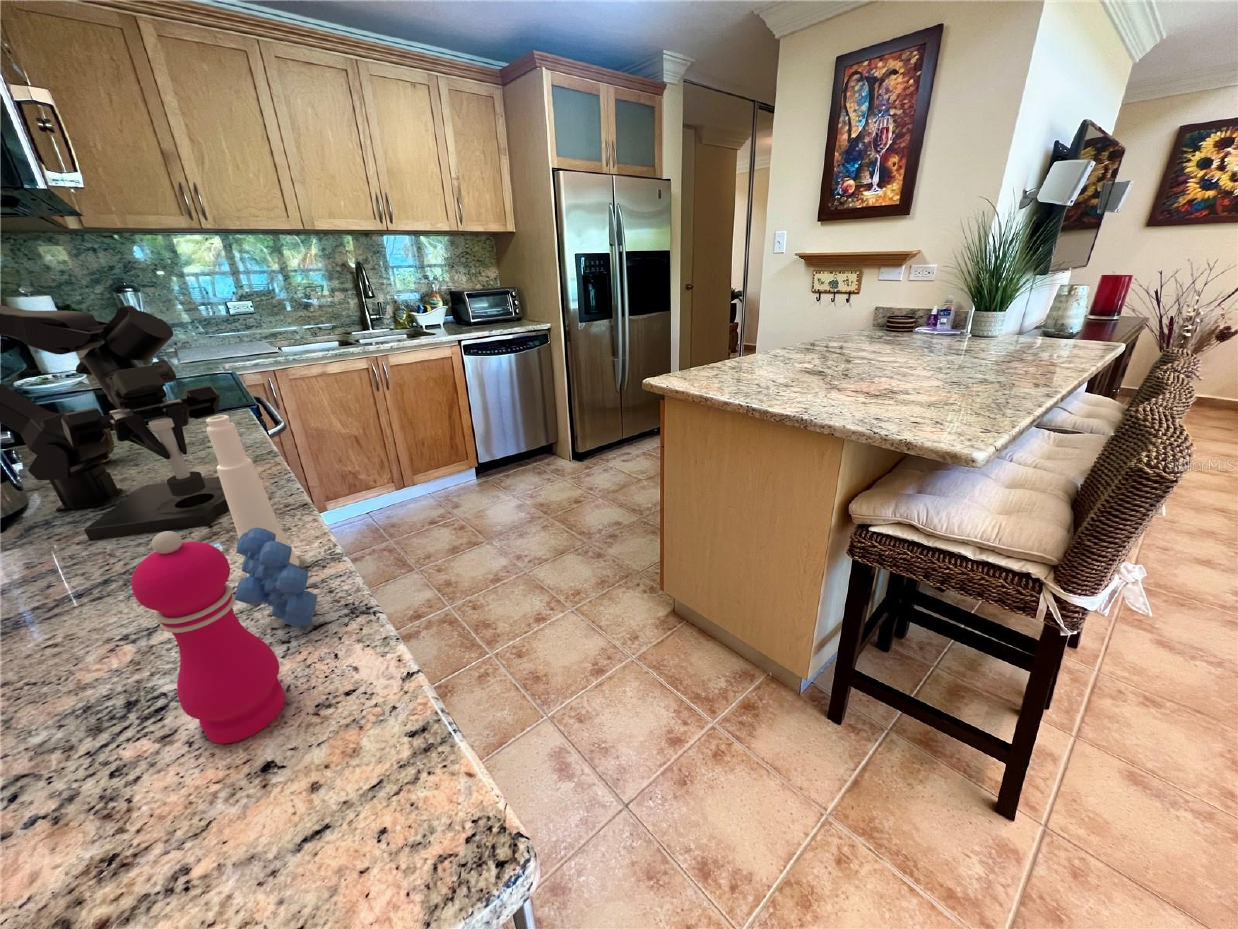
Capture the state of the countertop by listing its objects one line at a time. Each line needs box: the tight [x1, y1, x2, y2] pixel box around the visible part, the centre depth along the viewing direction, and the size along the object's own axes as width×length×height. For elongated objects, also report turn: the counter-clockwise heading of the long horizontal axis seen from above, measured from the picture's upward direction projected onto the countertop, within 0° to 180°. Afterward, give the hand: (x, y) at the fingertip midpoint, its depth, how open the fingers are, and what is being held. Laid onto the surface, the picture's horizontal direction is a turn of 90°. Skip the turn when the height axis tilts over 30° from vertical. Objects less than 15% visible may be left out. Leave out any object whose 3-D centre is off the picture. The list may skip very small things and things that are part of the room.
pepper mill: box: [130, 530, 286, 744], centre depth 42 cm, size 7×7×20 cm
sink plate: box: [83, 476, 230, 541], centre depth 84 cm, size 17×16×2 cm
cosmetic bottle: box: [205, 414, 300, 577], centre depth 63 cm, size 6×6×22 cm
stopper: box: [148, 417, 206, 496], centre depth 79 cm, size 4×4×12 cm
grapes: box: [234, 528, 318, 629], centre depth 55 cm, size 12×7×12 cm, turn 58°
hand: (177, 455), depth 79 cm, fingers closed on stopper, 2 cm apart
